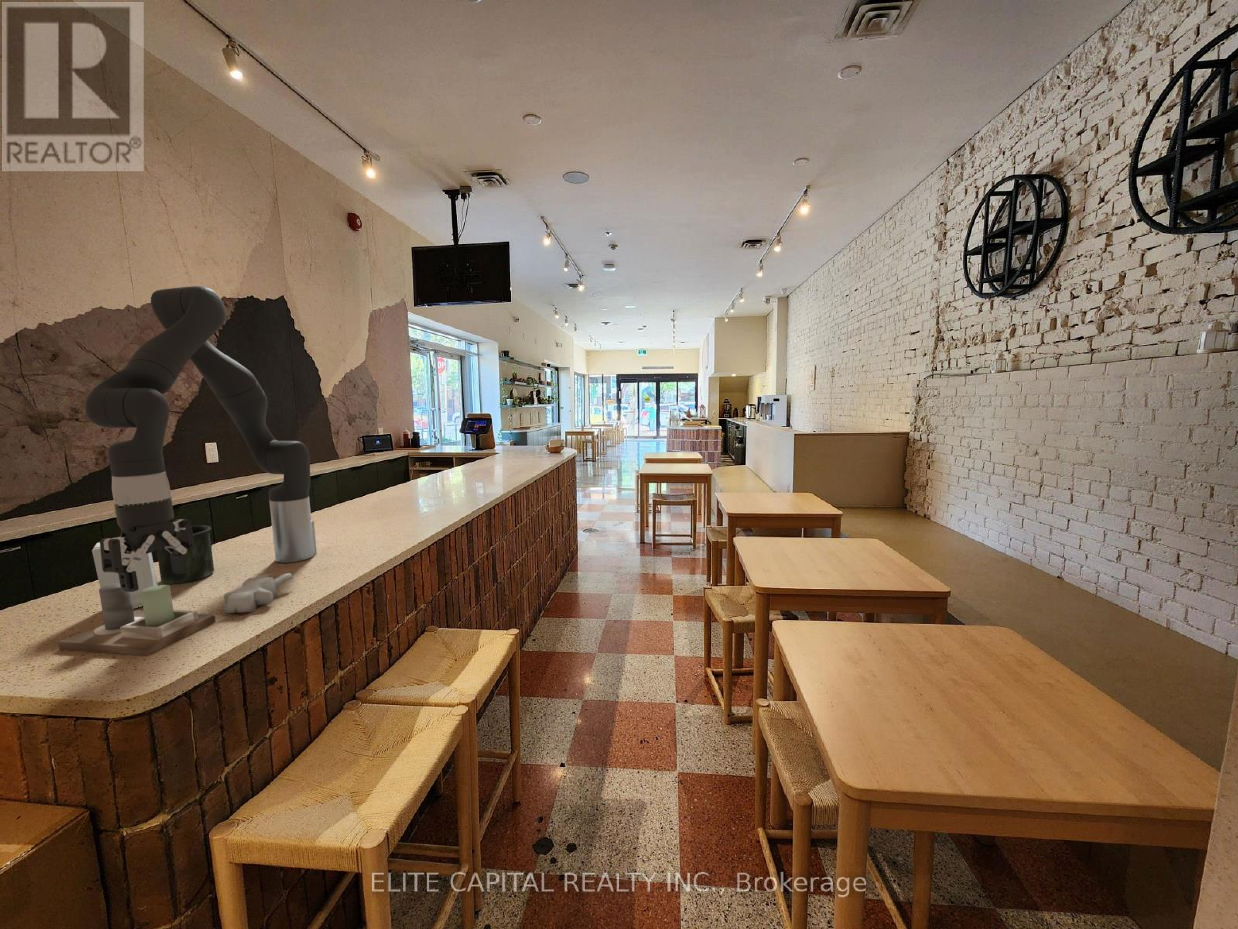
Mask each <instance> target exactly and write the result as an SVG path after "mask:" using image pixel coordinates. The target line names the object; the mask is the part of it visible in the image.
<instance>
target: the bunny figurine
mask: <svg viewBox="0 0 1238 929" xmlns="http://www.w3.org/2000/svg"><path fill="white" fill-rule="evenodd" d="M292 580H294V576H293V575H292V574H291V573H290V572H288V573H282V574H281V575H279V576H278V577H277V576H276V578H273V577H272V576H270V575H269V574H267V573H261V574H258V576H257V577H250V578H248V579H246V580H245V581H244V582H243V583H242V584H241V587H239V588H237V589H234V590H232V591H229V592H226V593H224V595H223V599H224V603H225V605H224V606H223V608H224V613H225V614H235V613H253V612H254V611H256V610H257V607H258V606H261V605H265V604H269V603H272V602H274V597H275V595H276V594H277V590H278V586H279V585H282V584H284V583H286V582H289V581H292ZM255 609H256V610H255Z"/></svg>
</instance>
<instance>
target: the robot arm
mask: <svg viewBox="0 0 1238 929" xmlns="http://www.w3.org/2000/svg"><path fill="white" fill-rule="evenodd" d="M150 305H151V308H152V311H153V313H154V314H155V316H156V318H157V320H158V322H159V323H160V324H161V326H162V327H163V329H164V330H163V331H162V332H160V333H158V334H157V335H155V336H153V337H152V338H149V339H148V340H147V341H145V342H144V343H143V344H141V346H139V347H138V348H137V350H136V351H135V352H134V353H133V355H132V356H131V358H129V360H128V362H127V363H126V364H125V366H124V367H123V368H122V369H121V370H119V371H117V372H116V373H113V375H111V376H110V377H108V378H107V379H105V380H103V381H102V382H100V383H99V384H98V385H96V386H95V387H94V388H92V390H91V391H90V392H89V394H88V395H87V398H86V400H85V404H84V409H85V410H84V411H85V414H86V416H87V418H88V420H90V421H91V422H92V423H93V424H94V425H96V426H99V427H103V428H107V429H122V428H124V429H125V428H128V429H129V428H130V429H131V428H136V429H135V433H134V435H133V437H132V439H128V440H123V441H119V442H114V443H111V445H110V446H109V447H108V449H107V455H108V461H109V462H108V463H109V467H110V474H111V492H112V498H113V504H114V511H115V515H116V516H115V517H116V522H117V525H118V527H119V528H120V529H121V533H120V535H119V536H118V537H112V538H110V537H109V538H102V539H101V540H99V542H100V550H101V560H102V570H103V572H114V573H118V575H119V580H120V586H121V588H122V590H125V591H126V592H134V591H137V590H138V589H139V587H138V581H137V575H136V571H133V570H134V569H135V567H136V565H137V563H138V561H139V560H141V559H142V558H143V557H144V555H145V554H148V553H153V552H154V551H157V550H160V549H166V550H167V551H168V552H170V553H171V554H173V555H170V559H171V566H172V572H173V573H175V574H181V573H184V572H185V571H186V568H187V563H186V556H185V553H186V552H187V550H188V549H190V548H194V547H195V541H194V536H193V531H192V526H193V525H192V522H191V520H190V519H185V518H184V519H183V518H181V519H179V518H177V519H176V518H175V514H174V513H175V512H174V507H173V502H172V501H173V500H172V493H171V488H170V481H169V479H168V475H167V472H166V466H165V459H164V454H163V453H164V452H163V451H164V450H163V449H164V443H165V436H166V432H167V426H168V423H169V418H170V414H171V413H170V404H169V402H168V400H167V398H166V397H165V396H164V394H166V393H168V392H169V391H170V390H171V388H172V387H173V386H174V384H175V382H176V381H177V378H178V377H179V376H180V373H181V372H182V370H183V368H184V367H185V365H186V364H187V362H189V360H190V361H191V362H192V364H193V365H194V366H195V368H196V369H197V370H198V372H199V373H200V375H202V377H203V379H204V380H205V381H206V383H207V384H208V386H209V388H210V389H211V391H212V393H213V394H214V396H215V398H216V399H217V400H218V401H219V403H220V405H221V406H222V407H223V408H224V410H225V411H226V412H227V414H228V415H229V417H230V418H231V420H232V421H233V423H234V424H235V427H236V428H237V429H238V431H239V432H240V434H241V436H242V438H243V439H244V441H245V443H246V445H247V447H248V448H249V451H250V452H251V454H252V456H253V458H254V460H255V462H256V464H257V465H258V467H259V468H260V469H261V470H262V471H264V472H265V473H267V474H271V475H283V480H282V481H283V482H281V484H280V485H278V486H275V487H272V488H271V489H269V491H268V500H269V501H268V502H269V510H270V518H271V520H270V521H271V529H272V530H271V531H272V541H273V549H274V558H275V559H274V560H275V562H277V563H281V564H282V563H283V564H284V563H287V564H288V563H296V562H301V561H304V560H307V559H308V560H309V559H310V558H312V557H313V556H315V554H317V541H316V530H315V521H313V520H312V514H311V504H310V502H311V501H310V494H309V493H310V488H311V481H312V480H311V458H310V452H309V449H308V448H307V446H306V444H304V443H303V442H302V441H298V440H277V439H276V438H275V436H273V434H272V433H271V432H270V430H269V428H268V426H267V422H266V418H267V411H268V398H267V395H266V393H265V391H264V390H263V388H262V386H261V384H260V383H259V382H258V380H257V378H256V376H255V375H254V373H252V372H251V371H250V369H248V368H246V367H245V366H244V365H243V364H240V363H239V362H238V361H237V360H235V359H233V358H231V357H230V356H229V355H227V354H226V353H225V354H224V353H223V352H222V351H220V350H219V349H218V348H217V347H216V346H214V345H213V344H212V343H211V342H210V341H209V339H210V338H211V337H212V336H213V335H214V334H215V333H216V332H217V331H218V330H220V328H221V327H222V326H223V325H224V323H225V322H226V319H227V318H226V317H227V316H226V315H227V311H226V306H225V305H224V302H223V300H222V298H221V297H220V295H218V293H216V291H214V290H213V289H211V288H209V287H205V286H200V285H199V286H197V285H196V286H195V285H194V286H182V287H180V286H179V287H171V288H164V289H163V288H162V289H157V290H155V291H154V292H152V293H151V296H150ZM173 519H174V520H173ZM172 520H173V521H172ZM174 530H175V531H176V536H177V539H175V538H174V537H173V536H172V534H173V532H174ZM185 538H186V539H185ZM122 544H124V545H125V547H124V549H123V550H122V552H121V548H123V545H122ZM132 551H134V552H135V553H134V554H131V552H132Z"/></svg>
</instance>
